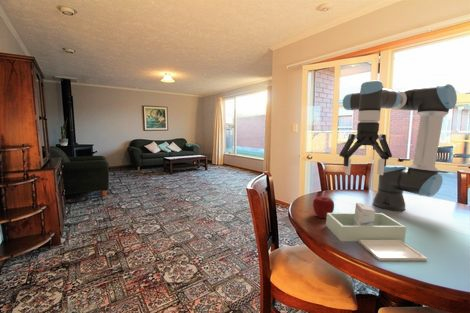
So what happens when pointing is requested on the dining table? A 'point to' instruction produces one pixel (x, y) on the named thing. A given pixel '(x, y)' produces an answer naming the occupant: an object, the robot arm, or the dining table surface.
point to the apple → (323, 206)
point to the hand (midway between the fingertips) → (363, 174)
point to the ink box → (364, 215)
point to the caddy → (365, 228)
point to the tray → (392, 250)
